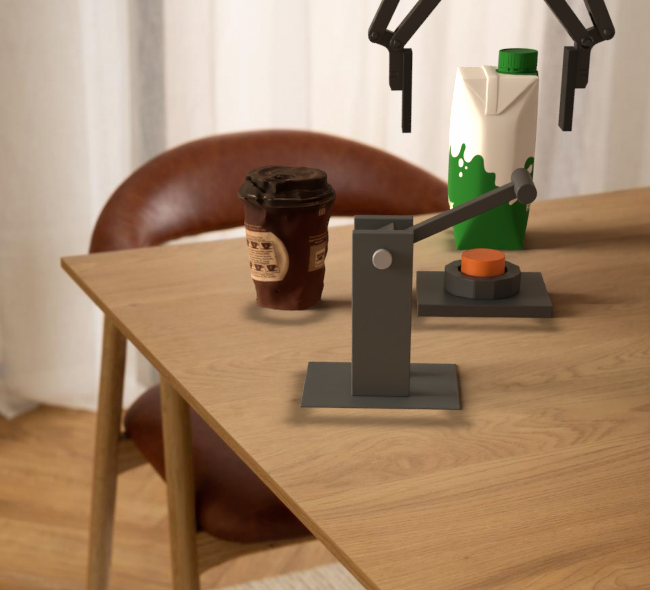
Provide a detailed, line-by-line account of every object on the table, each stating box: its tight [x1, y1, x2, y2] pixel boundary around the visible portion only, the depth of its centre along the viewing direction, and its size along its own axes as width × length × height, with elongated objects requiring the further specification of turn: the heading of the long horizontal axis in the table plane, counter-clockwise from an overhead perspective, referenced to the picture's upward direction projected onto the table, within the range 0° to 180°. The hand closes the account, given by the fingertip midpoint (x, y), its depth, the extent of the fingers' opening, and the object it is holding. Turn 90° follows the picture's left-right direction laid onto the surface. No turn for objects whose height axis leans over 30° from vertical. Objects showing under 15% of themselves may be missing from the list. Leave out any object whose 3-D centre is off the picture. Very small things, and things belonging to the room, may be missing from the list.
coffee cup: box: [237, 164, 337, 312], centre depth 108 cm, size 9×8×13 cm
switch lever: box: [377, 168, 538, 244], centre depth 86 cm, size 13×5×2 cm, turn 87°
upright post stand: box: [299, 214, 461, 411], centre depth 90 cm, size 12×9×14 cm
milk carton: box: [447, 47, 540, 251], centre depth 126 cm, size 9×9×20 cm
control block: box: [415, 259, 554, 319], centre depth 110 cm, size 12×10×4 cm
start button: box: [460, 248, 506, 277], centre depth 109 cm, size 4×4×2 cm
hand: (485, 129), depth 102 cm, fingers open, 13 cm apart
